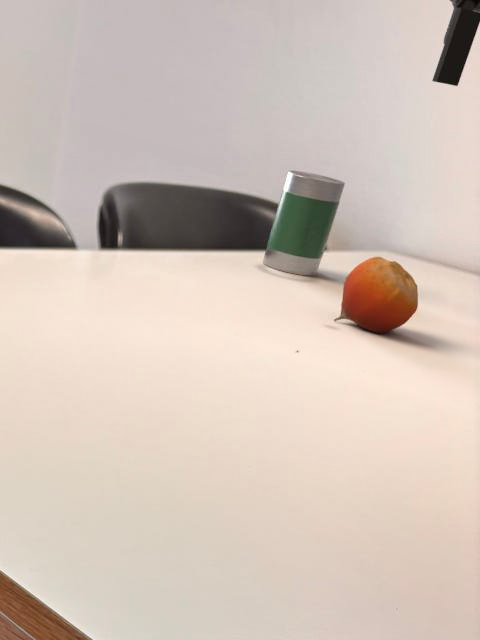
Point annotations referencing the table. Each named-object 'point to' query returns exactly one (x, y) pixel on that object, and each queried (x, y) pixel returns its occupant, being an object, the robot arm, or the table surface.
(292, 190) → the tin can
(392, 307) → the fruit
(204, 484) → the table surface
